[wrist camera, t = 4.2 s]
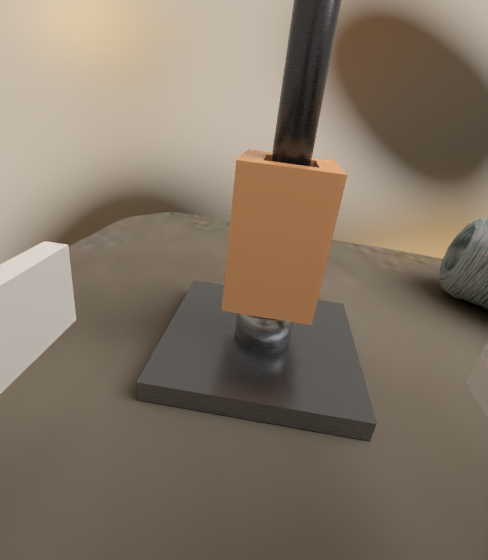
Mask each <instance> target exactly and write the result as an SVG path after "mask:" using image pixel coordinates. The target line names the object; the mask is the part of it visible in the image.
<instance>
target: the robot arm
mask: <svg viewBox="0 0 488 560" xmlns="http://www.w3.org/2000/svg"><path fill="white" fill-rule="evenodd" d="M75 321H76V312H75V303H74V293H73V284H72V275H71V266H70V257H69V248H68V245H66V244H59V243H52V242H46V241H44V242H42V243H40V244H38V245H36V246H35V247H33V248H31V249H29V250H27V251H25V252H23V253H22V254H19V255H18V256H16V257H14V258H12V259H10V260H8V261H6V262H4V263H2V264H0V394H1V393H2V392H3V391H4V390H5V389H6V388H7V387H8V386H9V385H10V384H11V383H12V382H13V381H14V380H15V379H16V378H17V377H18V376H19V375H20V374H21V373H22V372H23V371H24V370H25V369H26V368H28V367H29V366H30V365H31V364H32V363H33V362H34V361H35V360H36V359H37V358H38V357H39V356H40V355H41V354H42V353H43V352H44V351H45V350H46V349H47V348H48V347H49V346H50V345H51V344H52V343H53V342H54V341H55V340H56V339H57V338H58V337H59V336H60V335H61V334H62V333H63V332H64V331H65V330H66V329H68V328H69V327H70V326H71V325H72V324H73V323H74V322H75ZM466 385H467V387H468V388H469V390H470V391H471V393H472V394H473V396H474V397H475V399H476V400H477V402H478V403H479V405H480V407H481V408H482V410H483V411H484V413H485V414H486V416H487V417H488V341H487V343H486V345H485V347H484V349H483V351H482V353H481V355H480V357H479V359H478V361H477V363H476V365H475V367H474V369H473V371H472V373H471V375H470V377H469V379H468V381H467V383H466Z"/></svg>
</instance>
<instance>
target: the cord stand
mask: <svg viewBox="0 0 488 560" xmlns="http://www.w3.org/2000/svg"><path fill="white" fill-rule="evenodd" d="M340 5H341V0H294V5H293V13H292V20H291V26H290V34H289V40H288V48H287V55H286V62H285V69H284V76H283V83H282V90H281V98H280V105H279V112H278V118H277V125H276V133H275V139H274V146H273V153H272V161H273V162H280V163H288V164H295V165H303V166H310V164H311V159H312V153H313V147H314V143H315V137H316V132H317V127H318V121H319V116H320V111H321V106H322V100H323V95H324V89H325V85H326V79H327V74H328V69H329V63H330V58H331V52H332V47H333V42H334V37H335V31H336V26H337V21H338V16H339V10H340ZM223 290H224V285H220V284H213V283H207V282H201V281H194V282H193V283H192V285H191V287H190V289H189V290H188V292H187V294H186V296H185V297H184V299H183V301H182V303H181V305H180V306H179V308H178V310H177V312H176V313H175V315H174V317H173V319H172V320H171V322H170V324H169V326H168V327H167V329H166V331H165V333H164V334H163V336H162V338H161V340H160V341H159V343H158V345H157V347H156V348H155V350H154V352H153V354H152V355H151V357H150V359H149V361H148V363H147V364H146V366H145V368H144V370H143V371H142V373H141V375H140V377H139V378H138V380H137V382H136V389H137V400H140V401H146V402H152V403H157V404H163V405H168V406H174V407H180V408H185V409H191V410H197V411H202V412H208V413H214V414H219V415H225V416H231V417H236V418H242V419H248V420H253V421H259V422H265V423H270V424H276V425H282V426H287V427H293V428H299V429H304V430H310V431H316V432H321V433H327V434H333V435H338V436H344V437H350V438H355V439H361V440H366V441H370V439H371V437H372V434H373V432H374V429H375V426H376V421H375V417H374V413H373V410H372V406H371V402H370V399H369V395H368V392H367V388H366V384H365V381H364V377H363V374H362V370H361V366H360V363H359V359H358V356H357V352H356V348H355V345H354V341H353V337H352V334H351V330H350V327H349V323H348V319H347V316H346V312H345V309H344V305H343V304H342V303H335V302H329V301H322V300H318V301H317V305H316V309H315V314H314V318H313V322H312V325H308V324H302V323H296V322H289V321H283V320H277V319H271V318H264V317H258V316H252V315H246V314H239V313H233V312H227V311H221V310H222V300H223Z"/></svg>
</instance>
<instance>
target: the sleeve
mask: <svg viewBox="0 0 488 560" xmlns="http://www.w3.org/2000/svg"><path fill="white" fill-rule="evenodd" d="M346 178H347V174H346V173H345V172H344V171H343V170H342V169H341V168H340V167H339V165H338V164H337V163H336V162H335V161H331V160H323V159H316V158H312V159H311V164H310V166H303V165H295V164H288V163H280V162H273V161H272V153H271V152H264V151H256V150H247V151H246V152H245V153H244V154H243V155H241V156H240V157H239V158H238V159H237V161H236V171H235V181H234V190H233V200H232V210H231V220H230V230H229V240H228V250H227V260H226V270H225V280H224V290H223V300H222V310H221V311H227V312H233V313H239V314H246V315H252V316H258V317H264V318H271V319H277V320H283V321H289V322H296V323H302V324H308V325H312V322H313V318H314V314H315V309H316V305H317V301H318V297H319V292H320V288H321V284H322V280H323V275H324V271H325V267H326V263H327V258H328V254H329V250H330V246H331V241H332V237H333V233H334V229H335V224H336V220H337V216H338V212H339V207H340V203H341V199H342V195H343V190H344V186H345V182H346Z"/></svg>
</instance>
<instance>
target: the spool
mask: <svg viewBox="0 0 488 560" xmlns="http://www.w3.org/2000/svg"><path fill="white" fill-rule="evenodd" d="M440 284H441V287H442V289H443V290H444V291H446V292H447V293H448V294H450V295H451V296H453V297H454V298H456V299H464V300H466V301H468V302H470V303H472V304H476V305H479V306H481V307H483V308H485V309H488V219H479V220H477V221H474V222H472V223H471V224H469V225H467V226H466V227H465V228H464V229H463V230H462V231H461V232H460V233H459V234H458V235H457V236H456V238H455V239H454V240H453V242H452V243H451V245H450V246H449V248H448V250H447V252H446V254H445V256H444V258H443V260H442V263H441V267H440Z"/></svg>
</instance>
